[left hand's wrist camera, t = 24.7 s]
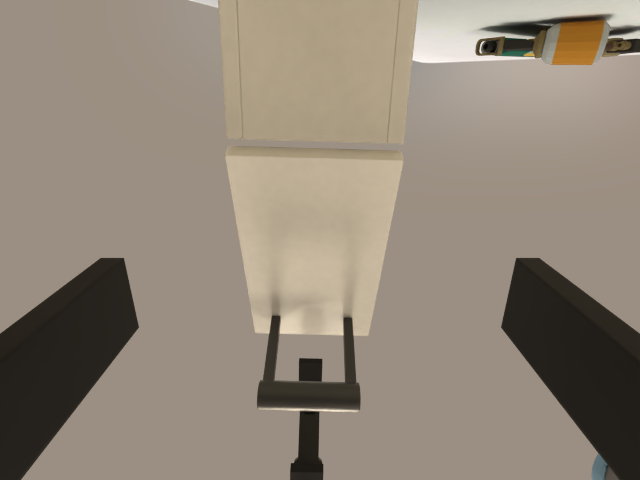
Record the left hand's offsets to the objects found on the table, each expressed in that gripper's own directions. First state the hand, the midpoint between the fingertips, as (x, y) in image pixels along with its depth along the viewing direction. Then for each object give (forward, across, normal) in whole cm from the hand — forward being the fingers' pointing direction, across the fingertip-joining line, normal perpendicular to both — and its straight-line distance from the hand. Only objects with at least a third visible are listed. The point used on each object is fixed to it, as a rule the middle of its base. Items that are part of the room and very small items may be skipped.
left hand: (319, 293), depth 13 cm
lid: (+12, 0, +4) cm, 13 cm away
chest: (+17, 0, -15) cm, 23 cm away
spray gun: (+40, -30, -14) cm, 51 cm away
